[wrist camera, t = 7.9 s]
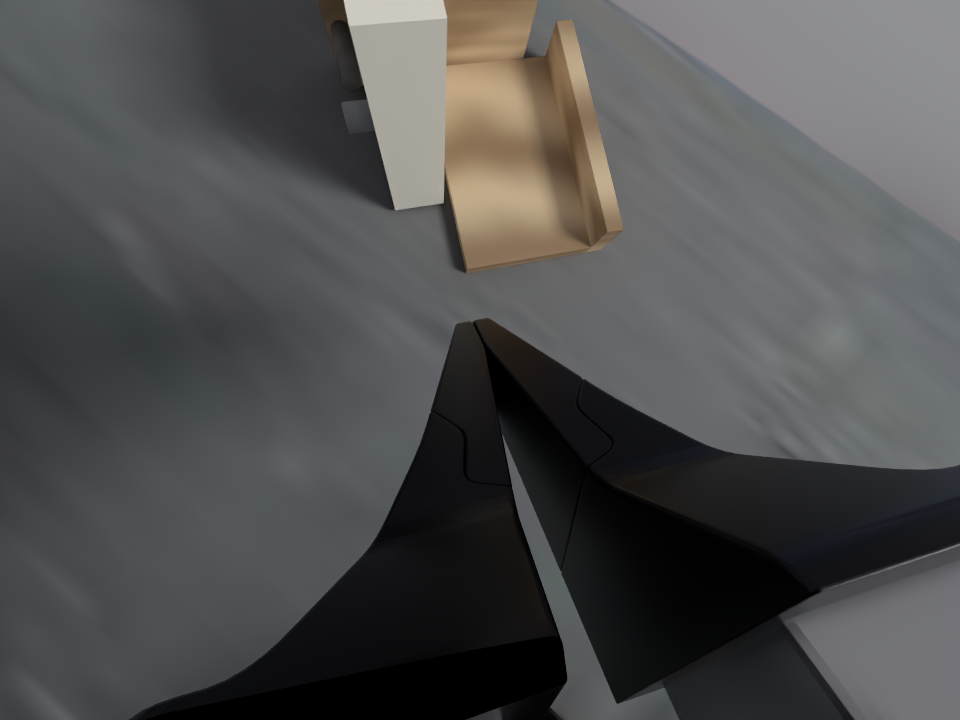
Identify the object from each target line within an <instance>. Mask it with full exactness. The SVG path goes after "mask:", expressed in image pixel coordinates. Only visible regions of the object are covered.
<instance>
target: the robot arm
mask: <svg viewBox="0 0 960 720" xmlns="http://www.w3.org/2000/svg"><path fill="white" fill-rule="evenodd" d="M502 434H503V436H504V439H505V441H506V443H507V446H508V448H509V450H510V453H511V455H512V458H513V460H514V462H515V465H516V467H517V469H518V472H519V474H520V476H521V479H522V481H523V484H524V486H525V488H526V491H527V493H528V495H529V498H530V500H531V502H532V505H533V507H534V510H535V512H536V514H537V517H538V519H539V521H540V524H541V526H542V528H543V531H544V533H545V536H546V538H547V540H548V543H549V545H550V547H551V550H552V552H553V554H554V557H555V559H556V562H557V564H558V566H559V569H560V570H561V571H562V572H561V574H562V576H563V578H564V581H565V583H566V585H567V588H568V590H569V593H570V595H571V597H572V600H573V602H574V604H575V607H576V609H577V611H578V614H579V616H580V618H581V621H582V623H583V626H584V628H585V630H586V633H587V635H588V637H589V640H590V642H591V644H592V647H593V649H594V652H595V654H596V656H597V659H598V661H599V663H600V666H601V668H602V670H603V673H604V675H605V678H606V680H607V682H608V685H609V687H610V689H611V692H612V694H613V696H614V698H615V701H616V703H617V704H619V703H621V702H624V701H627V700H630V699H633V698H636V697H639V696H641V695H644V694H647V693H650V692H653V691H656V690H658V689H661V688H665V690H666V692H667V694H668V696H669V698H670V701H671V703H672V705H673V707H674V709H675V711H676V713H677V716H678V718H679V720H960V465H958V466H954V467H949V468H943V469H928V470H911V469H889V468H876V467H865V466H855V465H845V464H834V463H824V462H814V461H803V460H793V459H783V458H772V457H762V456H752V455H742V454H735V453H731V452H726V451H722V450H719V449H716V448H713V447H710V446H708V445H705V444H703V443H701V442H699V441H697V440H694V439H692V438H690V437H689V436H687V435H685V434H683V433H681V432H679V431H677V430H675V429H673V428H671V427H669V426H667V425H665V424H663V423H661V422H659V421H657V420H656V419H654V418H652V417H650V416H648V415H646V414H644V413H642V412H640V411H638V410H636V409H634V408H632V407H631V406H629V405H627V404H625V403H623V402H621V401H620V400H618V399H616V398H614V397H613V396H611V395H609V394H608V393H606V392H604V391H603V390H601V389H599V388H598V387H596V386H594V385H593V384H591V383H590V382H588V381H587V380H585V379H582V378H581V377H580V376H579V375H577V374H575V373H574V372H572V371H571V370H569V369H568V368H566V367H564V366H563V365H561V364H560V363H558V362H557V361H555V360H554V359H552V358H550V357H549V356H547V355H546V354H544V353H543V352H541V351H539V350H538V349H536V348H535V347H533V346H532V345H530V344H529V343H527V342H525V341H524V340H522V339H521V338H519V337H518V336H516V335H514V334H513V333H511V332H510V331H508V330H507V329H505V328H503V327H502V326H500V325H499V324H497V323H496V322H494V321H493V320H491V319H489V318H484V319H479V320H475V321H473V323H472V322H471V321H468V322H463V323H458V324H456V326H455V330H454V333H453V337H452V340H451V343H450V347H449V350H448V354H447V357H446V360H445V364H444V367H443V371H442V374H441V378H440V381H439V384H438V388H437V391H436V395H435V398H434V401H433V405H432V408H431V413H430V414H429V418H428V421H427V425H426V428H425V431H424V434H423V437H422V440H421V442H420V445H419V447H418V450H417V452H416V455H415V457H414V459H413V462H412V464H411V466H410V468H409V470H408V473H407V475H406V477H405V479H404V481H403V483H402V485H401V488H400V490H399V492H398V494H397V496H396V498H395V500H394V503H393V505H392V507H391V509H390V511H389V513H388V516H387V518H386V520H385V522H384V524H383V526H382V528H381V530H380V531H379V533H378V535H377V537H376V538H375V540H374V541H373V543H372V544H371V546H370V547H369V548H368V550H367V551H366V552H365V553H364V554H363V556H362V557H361V558H360V559H359V560H358V561H357V562H356V563H355V564H354V565H353V566H352V567H351V568H350V569H349V570H348V571H347V572H346V573H345V574H344V575H343V576H342V577H341V578H340V579H339V580H338V581H337V582H336V584H335V585H334V586H333V587H332V588H331V589H330V590H329V591H328V592H327V593H326V594H325V595H324V596H323V597H322V598H321V599H320V600H319V601H318V602H317V603H316V604H315V605H314V606H313V607H312V608H311V609H310V610H309V611H308V612H307V613H306V614H305V615H304V616H303V618H302V619H301V620H300V621H299V622H298V623H297V624H296V625H295V626H294V627H293V628H292V629H291V630H290V631H289V632H288V633H287V634H286V635H285V636H284V637H283V638H282V639H281V640H280V641H279V642H278V643H277V644H276V645H275V646H274V647H273V648H271V649H270V650H269V651H268V652H267V653H266V654H265V655H264V656H262V657H261V658H260V659H258V660H257V661H255V662H254V663H253V664H251V665H250V666H249V667H247V668H246V669H244V670H243V671H241V672H239V673H238V674H236V675H234V676H232V677H231V678H229V679H227V680H226V681H223V682H221V683H218V684H216V685H213V686H211V687H208V688H206V689H202V690H199V691H195V692H192V693H189V694H185V695H182V696H179V697H175V698H172V699H169V700H166V701H163V702H161V703H158V704H155V705H153V706H151V707H149V708H147V709H144V710H142V711H141V712H139V713H138V714H136V715H135V716H133V717H132V718H131V719H129V720H544V718H546V717H549V718H548V719H547V720H561V719H560V717H559V716H558V715H557V714H556V713H555V712H554V711H553V710H552V709H551V708H550V706H551V705H552V703H553V702H554V700H555V699H556V697H557V696H558V694H559V693H560V691H561V690H562V688H563V687H564V685H565V684H566V682H567V672H566V664H565V657H564V649H563V644H562V641H561V638H560V635H559V632H558V629H557V626H556V623H555V620H554V617H553V615H552V612H551V609H550V606H549V603H548V600H547V597H546V594H545V591H544V588H543V586H542V583H541V580H540V577H539V574H538V571H537V568H536V565H535V562H534V560H533V557H532V554H531V551H530V548H529V545H528V542H527V539H526V536H525V534H524V531H523V528H522V525H521V522H520V519H519V516H518V512H517V507H516V503H515V499H514V494H513V490H512V484H511V478H510V473H509V468H508V463H507V458H506V453H505V448H504V442H503V437H502Z"/></svg>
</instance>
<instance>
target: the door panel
mask: <svg viewBox="0 0 960 720" xmlns="http://www.w3.org/2000/svg"><path fill="white" fill-rule="evenodd" d="M344 5H345V9H346V14H347V19H348V24H349V28H350V32H351V36H352V40H353V44H354V48H355V52H356V56H357V60H358V64H359V68H360V72H361V76H362V80H363V84H364V88H365V92H366V96H367V99H364V100H354V101H345V102H341V105H342V110H343V115H344V119H345V122H346V126H347V129H348V132H349V134H357V133H365V132H373V131H375V132H376V136H377V140H378V144H379V148H380V152H381V156H382V160H383V164H384V168H385V172H386V175H387V179H388V183H389V187H390V191H391V195H392V199H393V203H394V207H395V210H401V209H408V208H415V207H421V206H428V205H435V204H442V203H444V161H445V110H446V59H447V15H446V10H445V6H444V1H443V0H344Z"/></svg>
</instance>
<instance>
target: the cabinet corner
mask: <svg viewBox="0 0 960 720" xmlns="http://www.w3.org/2000/svg"><path fill="white" fill-rule="evenodd" d="M443 1H444V6H445V10H446V15H447V59H446V110H445V161H444V173H445V177H446V182H447V187H448V191H449V196H450V201H451V205H452V210H453V214H454V219H455V224H456V228H457V233H458V237H459V242H460V247H461V251H462V256H463V260H464V265H465V270H466V273H472V272H477V271H483V270H489V269H494V268H500V267H506V266H511V265H517V264H523V263H528V262H534V261H540V260H546V259H551V258H557V257H563V256H568V255H574V254H580V253H585V252H591V251H597V250H601V249H602V248H603V247H604V246H605V245H606V244H607V243H609V242H610V241H611V240H612V239H613V238H614V237H616V236H617V235H618V234H619V233H620V232H621V231H623V230H624V228H623V224H622V220H621V216H620V212H619V208H618V204H617V200H616V196H615V192H614V187H613V183H612V179H611V175H610V171H609V167H608V163H607V159H606V155H605V151H604V147H603V142H602V138H601V134H600V130H599V126H598V122H597V118H596V114H595V110H594V106H593V101H592V97H591V93H590V89H589V85H588V81H587V77H586V73H585V69H584V65H583V61H582V56H581V52H580V48H579V44H578V40H577V36H576V32H575V28H574V24H573V20H563V21H556V25H555V28H554V31H553V34H552V37H551V40H550V43H549V47H548V50H547V53H546V56H541V57H531V58H524V54H525V50H526V46H527V42H528V38H529V34H530V30H531V26H532V23H533V19H534V15H535V11H536V7H537V3H538V0H443ZM318 3H319V6H320V9H321V13H322V16H323V19H324V22H325V25H326V28H327V32H328V35H329V38H330V41H331V44H332V47H333V51H334V54H335V57H336V60H337V63H338V67H339V72H340V77H341V82H342V85H343V86H344V88H346V89H347V90H350V91H355V90H358V89H359V88H360V87H361V86H363V85H364V84H363V80H362V76H361V72H360V68H359V64H358V60H357V56H356V52H355V48H354V44H353V40H352V36H351V32H350V28H349V24H348V19H347V14H346V9H345V5H344V0H318Z"/></svg>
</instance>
